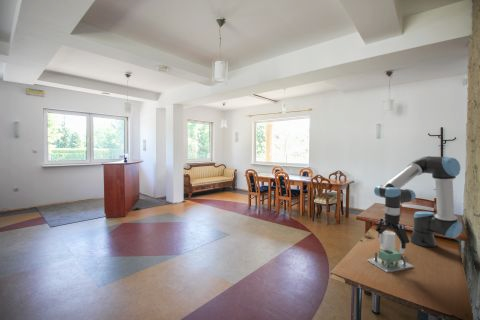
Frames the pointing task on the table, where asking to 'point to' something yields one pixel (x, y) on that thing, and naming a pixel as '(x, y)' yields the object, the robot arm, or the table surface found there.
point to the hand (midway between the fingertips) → (391, 248)
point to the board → (389, 255)
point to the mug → (388, 240)
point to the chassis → (390, 264)
